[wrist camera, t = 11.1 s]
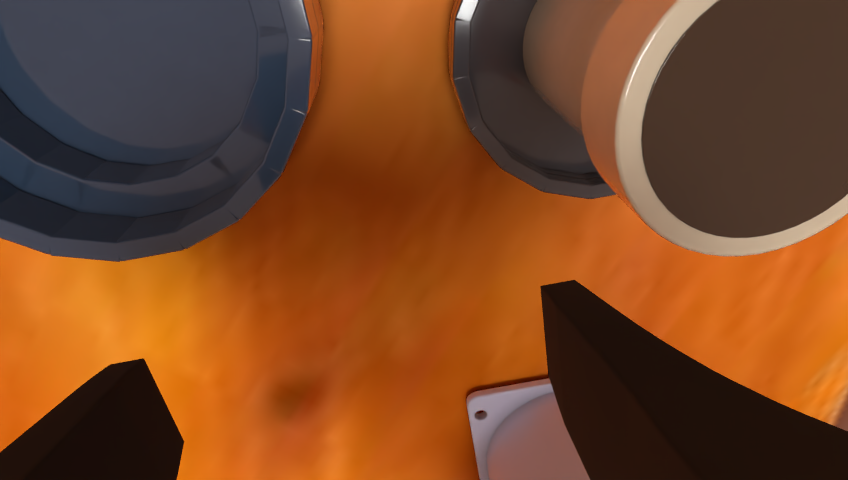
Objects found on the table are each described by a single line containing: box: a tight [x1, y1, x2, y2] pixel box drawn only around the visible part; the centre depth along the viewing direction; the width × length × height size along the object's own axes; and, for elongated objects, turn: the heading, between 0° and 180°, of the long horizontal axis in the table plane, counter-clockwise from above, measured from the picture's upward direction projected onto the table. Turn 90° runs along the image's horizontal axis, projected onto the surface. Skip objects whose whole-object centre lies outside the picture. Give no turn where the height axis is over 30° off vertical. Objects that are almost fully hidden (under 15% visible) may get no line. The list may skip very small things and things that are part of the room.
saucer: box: [448, 0, 616, 199], centre depth 18 cm, size 9×10×2 cm
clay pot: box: [523, 0, 848, 256], centre depth 14 cm, size 6×6×9 cm
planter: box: [0, 0, 324, 262], centre depth 16 cm, size 12×12×4 cm
